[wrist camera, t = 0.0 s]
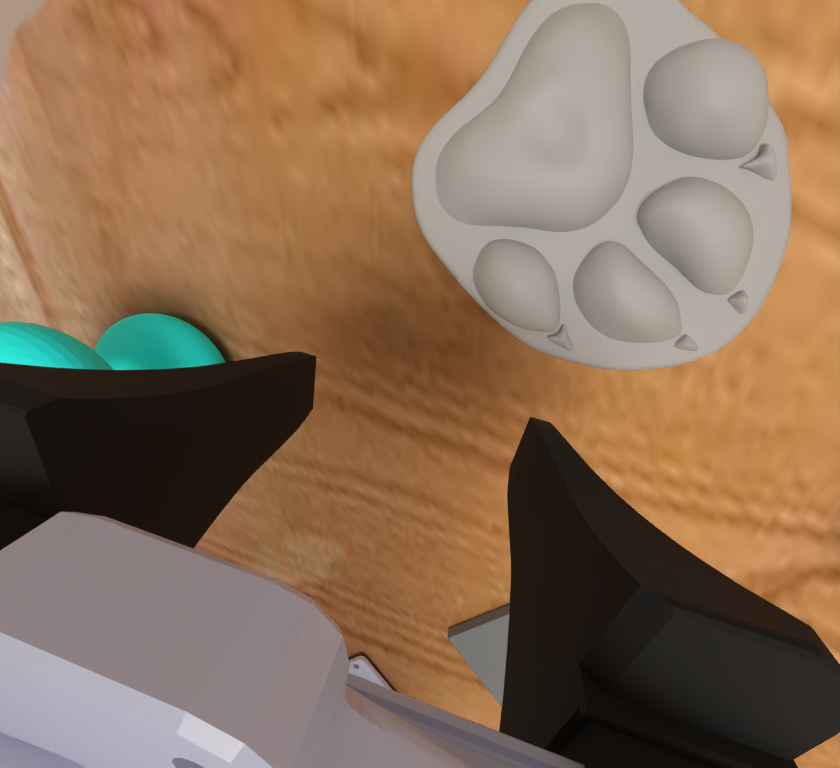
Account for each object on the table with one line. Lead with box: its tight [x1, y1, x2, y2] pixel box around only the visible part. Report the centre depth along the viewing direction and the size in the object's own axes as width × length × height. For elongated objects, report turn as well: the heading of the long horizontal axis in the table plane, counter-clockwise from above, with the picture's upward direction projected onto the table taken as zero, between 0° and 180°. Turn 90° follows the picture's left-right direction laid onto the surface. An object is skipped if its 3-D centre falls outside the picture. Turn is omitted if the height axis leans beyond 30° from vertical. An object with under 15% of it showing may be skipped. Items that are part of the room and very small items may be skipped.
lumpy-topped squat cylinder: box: [411, 0, 792, 371], centre depth 15 cm, size 10×13×9 cm
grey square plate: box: [448, 604, 510, 706], centre depth 25 cm, size 12×12×1 cm
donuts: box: [0, 313, 226, 370], centre depth 21 cm, size 10×10×10 cm
